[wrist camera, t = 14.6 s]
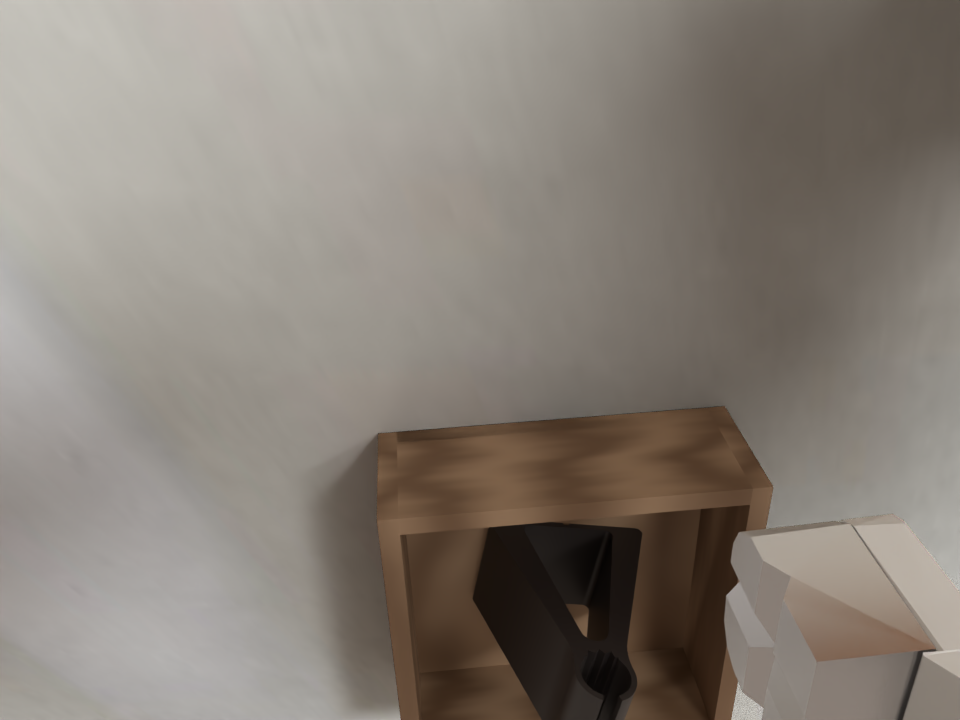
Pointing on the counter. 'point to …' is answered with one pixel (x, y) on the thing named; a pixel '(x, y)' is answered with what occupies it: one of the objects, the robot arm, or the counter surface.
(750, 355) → the counter surface
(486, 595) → the phone stand
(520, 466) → the walnut box
